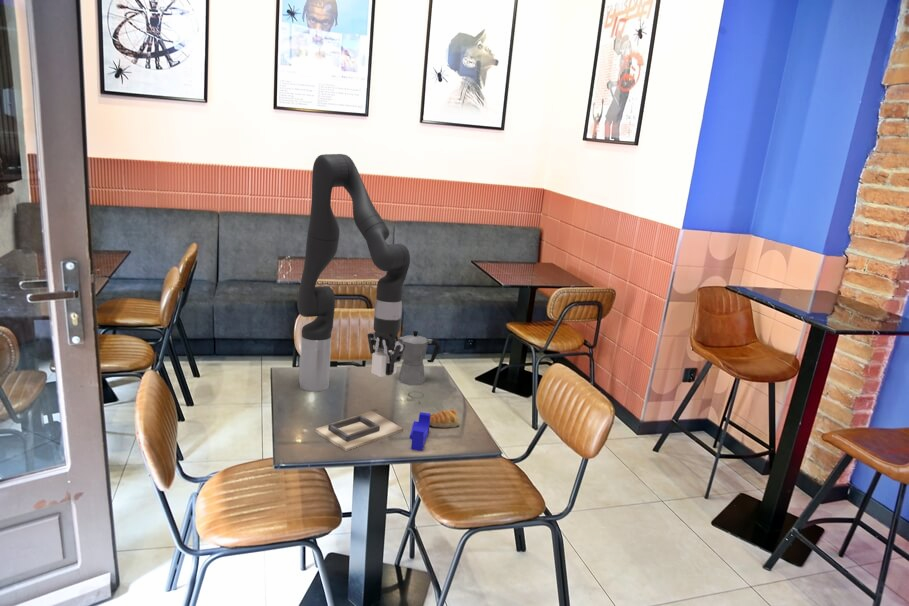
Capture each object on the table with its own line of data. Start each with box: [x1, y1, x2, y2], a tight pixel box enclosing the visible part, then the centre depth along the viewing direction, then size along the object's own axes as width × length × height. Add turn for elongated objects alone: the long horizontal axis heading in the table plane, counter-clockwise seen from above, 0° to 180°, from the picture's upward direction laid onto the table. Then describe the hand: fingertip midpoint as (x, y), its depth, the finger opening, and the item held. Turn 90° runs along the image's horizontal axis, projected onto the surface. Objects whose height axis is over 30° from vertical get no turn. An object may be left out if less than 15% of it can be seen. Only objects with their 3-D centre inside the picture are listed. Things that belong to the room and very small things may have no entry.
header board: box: [314, 410, 404, 452], centre depth 175 cm, size 14×20×2 cm
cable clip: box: [409, 411, 432, 452], centre depth 173 cm, size 12×4×6 cm, turn 173°
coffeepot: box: [397, 330, 441, 386], centre depth 213 cm, size 15×9×18 cm, turn 87°
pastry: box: [429, 409, 460, 429], centre depth 184 cm, size 9×7×4 cm
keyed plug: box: [370, 350, 398, 378], centre depth 179 cm, size 4×7×6 cm, turn 138°
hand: (383, 371), depth 179 cm, fingers closed on keyed plug, 4 cm apart
